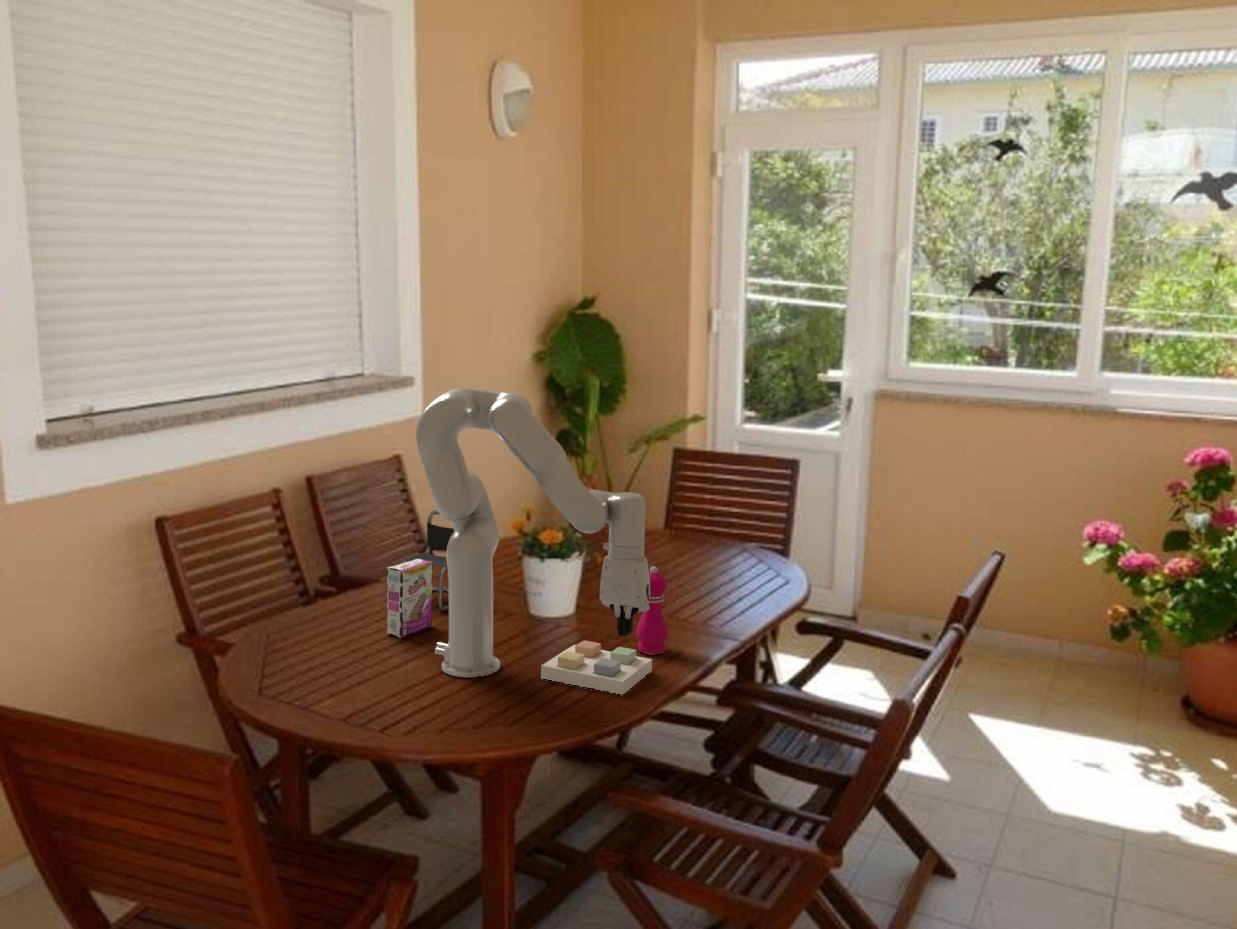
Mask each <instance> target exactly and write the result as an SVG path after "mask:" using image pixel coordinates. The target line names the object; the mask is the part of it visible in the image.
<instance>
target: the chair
mask: <svg viewBox="0 0 1237 929" xmlns="http://www.w3.org/2000/svg"><path fill="white" fill-rule="evenodd" d="M434 515H440V514H439V512H438V510H437V509H435V510H432V511H431V512H429V514H428V516H427V520H426V550H425V551H424V552H422V553H419V554H417V555H415V556H412V557H409V558H407V559H405V560H403V561H401V563H400V564H402V563H405V562H408V561H412V560H415V559H422V560H427V561H431V562H433V567H441V568H440V570H439V573H438V576H437V578H438V579H437V582H438V583H437V587H436V586H435V587H432V593H434V592H433V591H435V592H438V594H437V595H438V596H437V600H438V601H437V602H438V607H439V609H440V610H441V611H444V612H445V611H447V610H449V603H448V604H446V605H444V603H443V601H444V600H443V594H444V593H443V592H444V591H447V592H446V593H448V587H444V586H443V580H444V578H443V577H444V574H445V571H448V570H447V559H446V556H440V555H435V554H432V553H431V550H432V548H433V549H437V550H442V551H447V545H448V542H449V539H450V537H451V536H452V534H453V533H454V529H453V527H452V528H451V527H444V526H441V525H436V524H432V522H433V521H432V519H433V517H434Z"/></svg>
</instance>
